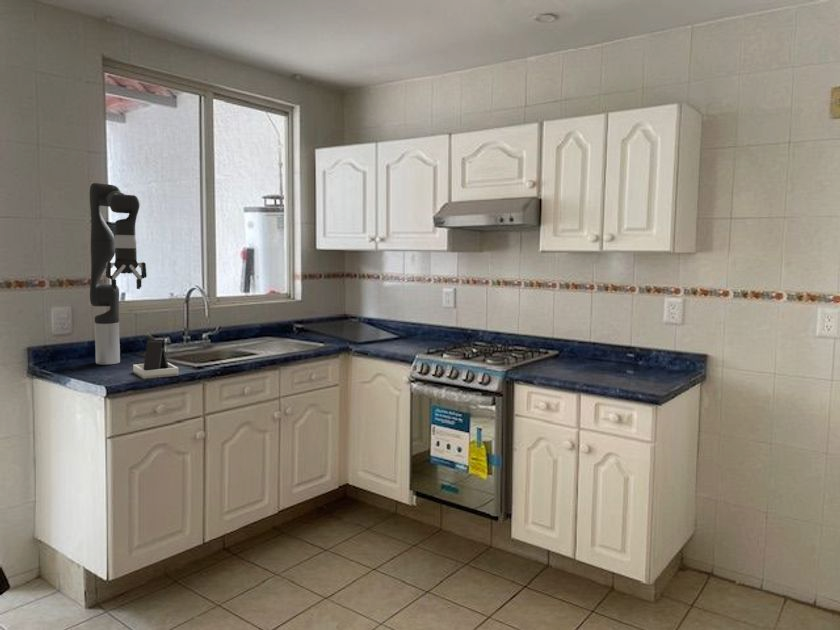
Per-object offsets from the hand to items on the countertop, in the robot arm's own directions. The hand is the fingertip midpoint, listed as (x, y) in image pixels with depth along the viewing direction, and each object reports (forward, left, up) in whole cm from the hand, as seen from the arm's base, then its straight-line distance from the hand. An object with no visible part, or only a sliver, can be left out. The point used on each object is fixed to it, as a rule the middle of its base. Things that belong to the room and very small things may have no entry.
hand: (126, 289), depth 248 cm
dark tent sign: (+6, +9, -32) cm, 34 cm away
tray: (+6, +9, -33) cm, 35 cm away
